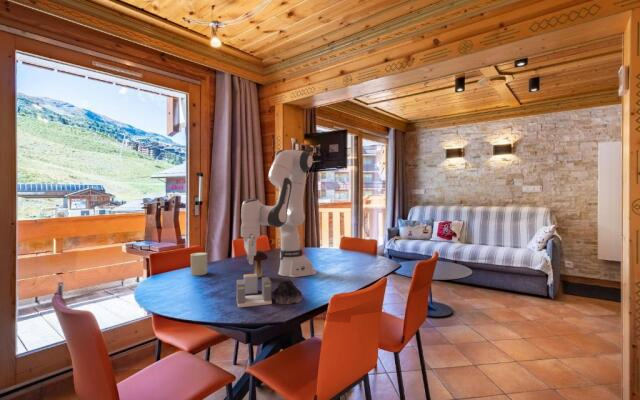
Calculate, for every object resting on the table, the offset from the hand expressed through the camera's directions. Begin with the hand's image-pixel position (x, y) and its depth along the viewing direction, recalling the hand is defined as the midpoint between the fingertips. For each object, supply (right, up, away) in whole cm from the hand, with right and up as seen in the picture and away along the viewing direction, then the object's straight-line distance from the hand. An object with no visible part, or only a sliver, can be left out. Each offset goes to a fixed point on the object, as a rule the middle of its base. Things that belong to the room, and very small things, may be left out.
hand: (249, 262), depth 152 cm
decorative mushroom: (-1, -14, +26) cm, 30 cm away
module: (0, -14, +1) cm, 14 cm away
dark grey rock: (+19, -15, -11) cm, 27 cm away
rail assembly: (+4, -15, -13) cm, 20 cm away
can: (-38, -14, +36) cm, 54 cm away
